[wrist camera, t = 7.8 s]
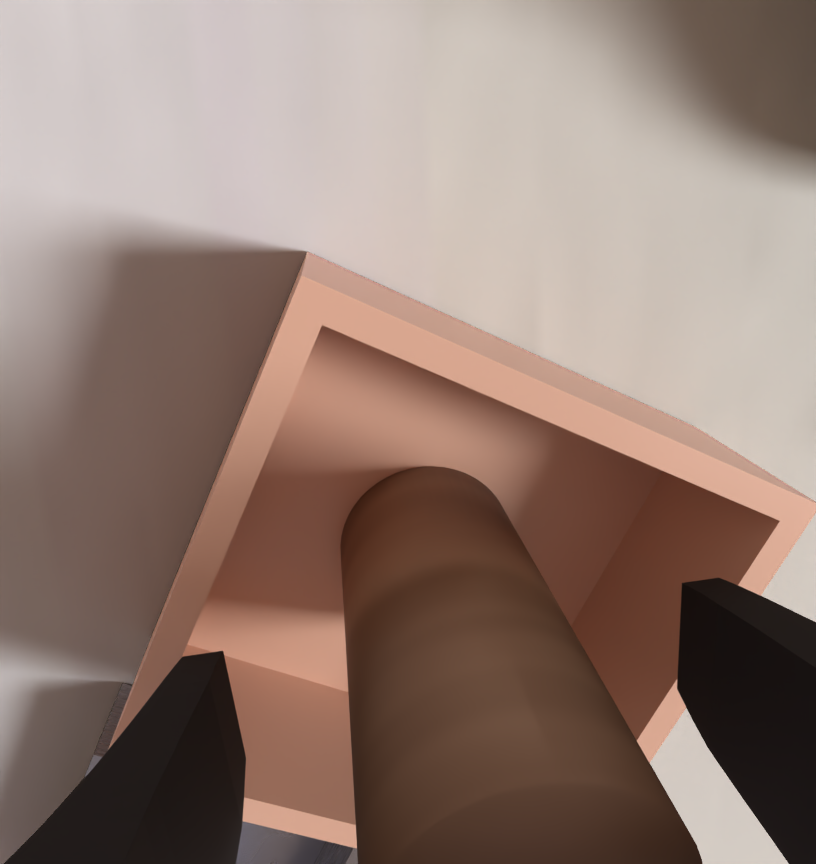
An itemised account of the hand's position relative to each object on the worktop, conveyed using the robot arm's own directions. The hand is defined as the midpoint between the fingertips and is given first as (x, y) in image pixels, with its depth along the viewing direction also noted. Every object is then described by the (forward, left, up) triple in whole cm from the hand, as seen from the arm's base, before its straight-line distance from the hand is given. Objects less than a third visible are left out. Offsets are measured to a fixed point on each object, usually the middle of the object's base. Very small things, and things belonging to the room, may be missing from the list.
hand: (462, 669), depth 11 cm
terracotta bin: (0, 0, -5) cm, 5 cm away
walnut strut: (0, 0, -4) cm, 4 cm away
